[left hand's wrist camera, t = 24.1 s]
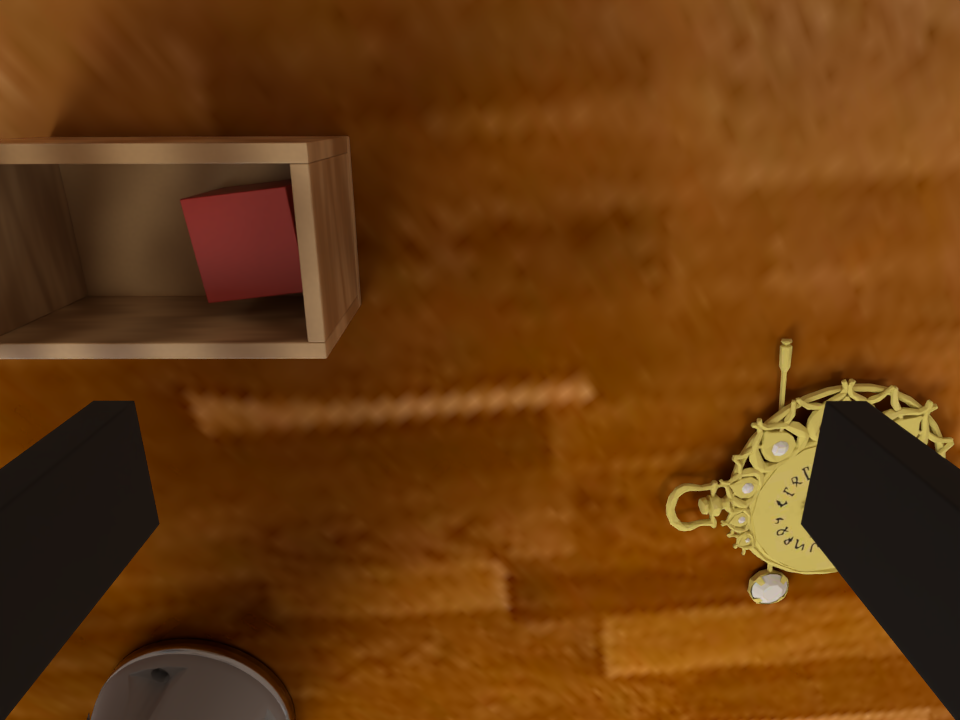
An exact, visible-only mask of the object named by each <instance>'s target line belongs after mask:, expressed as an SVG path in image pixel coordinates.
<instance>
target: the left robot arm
mask: <svg viewBox="0 0 960 720" xmlns="http://www.w3.org/2000/svg"><path fill="white" fill-rule="evenodd" d="M158 525H159V520H158V515H157V510H156V505H155V500H154V495H153V491H152V486H151V481H150V476H149V471H148V466H147V461H146V456H145V452H144V447H143V442H142V437H141V432H140V427H139V422H138V417H137V412H136V408H135V403H134V401H93V402H91V403H90V404H89V405H87V406H86V407H85V408H83V409H82V410H81V411H79V412H78V413H76V414H75V415H74V416H72V417H71V418H70V419H68V420H67V421H65V422H64V423H63V424H61V425H60V426H59V427H57V428H56V429H55V430H53V431H52V432H50V433H49V434H48V435H46V436H45V437H44V438H42V439H41V440H39V441H38V442H37V443H35V444H34V445H33V446H31V447H30V448H29V449H27V450H26V451H24V452H23V453H22V454H20V455H19V456H18V457H16V458H15V459H13V460H12V461H11V462H9V463H8V464H7V465H5V466H4V467H2V468H1V469H0V720H5V719H6V717H7V716H8V715H9V713H10V712H11V711H12V710H13V708H14V707H15V706H16V705H17V703H18V702H19V701H20V700H21V698H22V697H23V696H24V695H25V693H26V692H27V691H28V689H29V688H30V687H31V686H32V684H33V683H34V682H35V681H36V679H37V678H38V677H39V676H40V674H41V673H42V672H43V671H44V669H45V668H46V667H47V665H48V664H49V663H50V662H51V660H52V659H53V658H54V657H55V655H56V654H57V653H58V652H59V650H60V649H61V648H62V646H63V645H64V644H65V643H66V641H67V640H68V639H69V638H70V636H71V635H72V634H73V633H74V631H75V630H76V629H77V628H78V626H79V625H80V624H81V622H82V621H83V620H84V619H85V617H86V616H87V615H88V614H89V612H90V611H91V610H92V609H93V607H94V606H95V605H96V604H97V602H98V601H99V600H100V598H101V597H102V596H103V595H104V593H105V592H106V591H107V590H108V588H109V587H110V586H111V585H112V583H113V582H114V581H115V580H116V578H117V577H118V576H119V574H120V573H121V572H122V571H123V569H124V568H125V567H126V566H127V564H128V563H129V562H130V561H131V559H132V558H133V557H134V555H135V554H136V553H137V552H138V550H139V549H140V548H141V547H142V545H143V544H144V543H145V542H146V540H147V539H148V538H149V537H150V535H151V534H152V533H153V531H154V530H155V529H156V528H157V526H158ZM801 525H802V526H803V528H804V529H805V530H806V531H807V533H808V534H809V535H810V537H811V538H812V539H813V540H814V542H815V543H816V544H817V545H818V547H819V548H820V549H821V550H822V552H823V553H824V554H825V555H826V557H827V558H828V559H829V561H830V562H831V563H832V564H833V566H834V567H835V568H836V569H837V571H838V572H839V573H840V574H841V576H842V577H843V578H844V580H845V581H846V582H847V583H848V585H849V586H850V587H851V588H852V590H853V591H854V592H855V593H856V595H857V596H858V597H859V598H860V600H861V601H862V602H863V604H864V605H865V606H866V607H867V609H868V610H869V611H870V612H871V614H872V615H873V616H874V617H875V619H876V620H877V621H878V622H879V624H880V625H881V626H882V628H883V629H884V630H885V631H886V633H887V634H888V635H889V636H890V638H891V639H892V640H893V641H894V643H895V644H896V645H897V646H898V648H899V649H900V650H901V652H902V653H903V654H904V655H905V657H906V658H907V659H908V660H909V662H910V663H911V664H912V665H913V667H914V668H915V669H916V671H917V672H918V673H919V674H920V676H921V677H922V678H923V679H924V681H925V682H926V683H927V684H928V686H929V687H930V688H931V689H932V691H933V692H934V693H935V695H936V696H937V697H938V698H939V700H940V701H941V702H942V703H943V705H944V706H945V707H946V708H947V710H948V711H949V712H950V713H951V715H952V716H953V717H954V719H955V720H960V469H959V468H958V467H956V466H955V465H953V464H952V463H951V462H949V461H948V460H947V459H945V458H944V457H942V456H941V455H940V454H938V453H937V452H936V451H934V450H933V449H931V448H930V447H929V446H927V445H926V444H925V443H923V442H922V441H921V440H919V439H918V438H916V437H915V436H914V435H912V434H911V433H910V432H908V431H907V430H905V429H904V428H903V427H901V426H900V425H899V424H897V423H896V422H895V421H893V420H892V419H890V418H889V417H888V416H886V415H885V414H884V413H882V412H881V411H879V410H878V409H877V408H875V407H874V406H873V405H871V404H870V403H868V402H867V401H826V403H825V408H824V412H823V417H822V422H821V427H820V432H819V437H818V442H817V447H816V452H815V456H814V461H813V466H812V471H811V476H810V481H809V486H808V491H807V495H806V500H805V505H804V510H803V515H802V520H801ZM87 720H90V718H89V714H88V718H87ZM91 720H295V712H294V707H293V703H292V700H291V698H290V696H289V694H288V692H287V690H286V688H285V687H284V685H283V684H282V682H281V681H280V680H279V679H278V678H277V676H276V675H275V674H274V673H273V672H272V671H271V670H270V669H268V668H267V667H266V666H265V665H263V664H262V663H261V662H259V661H258V660H256V659H255V658H253V657H251V656H250V655H248V654H246V653H244V652H242V651H240V650H238V649H235V648H232V647H230V646H227V645H224V644H220V643H216V642H212V641H206V640H200V639H171V640H165V641H160V642H156V643H152V644H149V645H146V646H144V647H142V648H140V649H138V650H136V651H134V652H132V653H131V654H129V655H128V656H127V657H125V658H124V659H123V660H122V661H121V662H120V663H119V664H118V665H117V667H116V668H115V669H114V671H113V672H112V674H111V675H110V677H109V678H108V680H107V681H106V683H105V684H104V686H103V688H102V689H101V691H100V694H99V696H98V699H97V701H96V703H95V706H94V710H93V713H92V717H91Z"/></svg>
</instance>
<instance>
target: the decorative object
mask: <svg viewBox="0 0 960 720" xmlns="http://www.w3.org/2000/svg"><path fill="white" fill-rule="evenodd" d="M781 342H782V343H783V344H782V345H780V357H779V367H780V369H781V385H780V399H779V411H778V412H777V413H775V414H774V415H773V416H772V417H770V418H769V419H768V420H766V421H765V422H764V423H762V419H761V418H758V419H757V423H752V424H751V427H753V428H756V429H757V431H756V432H755V433H754V434H753V435H752V436H751V437H750V439H749V440H748V442H747V443H746V445H745V447H744V448H743V450H742V451H741V453H740V454H739V455H733V457H732V460H733V461H734V462H735V463H736V464H735V466H734V469H733V471H732V474H731V479H730V480H729V481H723V480H722V479H721V480H719V481H720V483H719V484H718V483H717V481H716V480H712V482H711V483H709V484H704V485H696V484H691V483H686V484H681V485H679V486H678V487H676V488H675V489H674V490H673V492H672V493H671V494H670V495H669V497H668V501H667V504H666V515H667V517H668V519H669V522H670V524H671V525H672V526H674V527H675V528H677V529H678V530H680V531H689V530H693V529H695V528H697V527H699V526H711V527H713V528H715V527H716V523H717V521H716V519H715V517H714V516H719V514H720V512H721V510H722V509H725V510H726V511H727V512H729V515H728V517H727V519H726V520H725V521H723V520H722V521H721V522H722V524H721V525H722V526H725V525H727V526H728V527H729V528H730V529H731V531H730V532H729V533H728V534H727V536H728V537H736V538H737V540H736V544H732V545H733V547H734V548H735V549H736V548H737V547H740V548H742V550H743V551H742V555H744V554H745V552H746V550H747V549H749V550H750V551H751V552H752V553H753V554H755V555H756V556H757V557H759V558H760V559H762V560H763V561H765V562H767V563H768V566H767V569H765V570H761V571H759V572H758V573H756V574H755V575H754V576H753V577H751V578H750V580H749V586H748V593H749V594H750V596H751V598H752V600H753V601H755V602H756V603H759V604H771V603H775V602H779V601H780V600H782V599H783V598H784V597H785V596H786V594H787V591H788V579H787V577H786V576H785V575H784V574H783V573H782V572H779V571H776V570H773V569H772V566H774V567H777V568H780V569H782V570H785V571H788V572H795V573H801V574H825V573H832V572H838V571H837V569H836V568H835V567H834V566H833V564H832V563H831V562H830V561H829V559H828V558H827V557H826V555H825V554H824V553H823V552H822V550H821V549H820V548H819V547H818V545H817V544H816V543H815V542H814V540H813V539H812V538H811V537H810V535H809V534H808V533H807V531H806V530H805V529H804V528H803V526H802V525H801V520H802V515H803V510H804V505H805V500H806V495H807V491H808V486H809V481H810V476H811V471H812V466H813V461H814V456H815V452H816V447H817V442H818V437H819V432H820V430H819V428H820V427H821V422H822V417H823V412H824V408H825V403H826V401H852V400H851V399H850V398H849V396H850V397H851V398H853V399H854V400H856V401H867V402H868V403H870V404H871V405H873V403H876V402H879V401H881V400H882V399H883V398H884V397H886V396H887V395H890V396H891V405H892V407H893V409H888V410H886V411H883V412H882V413H884V414H885V415H886V416H888V417H889V418H890V419H892V420H893V421H895V422H896V423H897V424H899V425H900V426H901V427H903V428H904V429H905V430H907V431H908V432H910V433H911V434H912V435H914V436H915V437H917V435H918V434H919V435H918V437H917V438H918V439H919V440H921V441H922V442H923V443H925V444H926V445H927V443H928V439H929V440H931V441H933V442H934V443H935V450H936V452H937V453H938V454H940V455H941V456H942V457H944V458H945V459H946V454H945V452H946V451H947V450H948V449H949V448H951V447H952V446H953V445H954V442H953V438H951V437H946V438H943V437H942V434H941V432H940V430H939V427H938V425H937V423H936V422H935V421H934V419H933V418H932V417H931V415H930V413H931V412H932V411H934V410H936V409H938V407H937V404H933V402H932V401H931V400H928V401H927V402H926V404H925V405H924V407H923V406H922V405H920V404H919V403H918V402H917V401H915V400H914V399H913V398H912V397H910V396H908V395H906V394H904V393H902V392H899V391H898V387H896V386H892V385H890V386H889V387H885V386H880V385H875V384H855V382H856V381H855V380H854V379H849V381H848V383H847V381H846V379H844V380H842V381H841V382H842V385H839V386H833V387H827V388H824V389H821V390H818V391H816V392H813V393H810V394H807V395H804V396H803V397H801V398H800V397H799V398H796V400H792V402H791V403H790V404H788V405H786V406H785V407H784V402H785V389H786V375H787V371H788V369H789V368H790V364H791V355H792V345H790V343H792V339H782V340H781ZM855 392H874V393H880V394H877V395H874V396H871V397H869V398H866V397H864V396H862V395H859V394H857V393H855ZM833 394H836V395H835V396H833V397H831V398H830V399H828V400H826V401H825V402H824V403H822V404H821V403H809V402H812V401H815V400H817V399H820V398H823V397H826V396H828V395H833ZM846 394H847V395H846ZM898 400H900V401H902V402H904V403H905V404H907V405H908V406H909V407H911V408H905V407H902V408H901V406H900V404H899V401H898ZM801 406H803V407H804V408H806V409H807V410H814V411H812V413H811V415H810V416H809V418H808V420H807V423H806V427H804V426H803V425H802V424H800V423H799V422H795V421H791V420H792V419H793V418H794V416H795V412H796V409H798V408H799V407H801ZM873 406H874V405H873ZM874 407H875V406H874ZM786 415H787V416H786ZM904 415H907V416H904ZM785 416H786V417H785ZM784 417H785V418H784ZM783 418H784V421H783ZM920 422H921V430H919V423H920ZM774 429H777V430H774ZM784 429H786V430H788V431H790V432H791V433H793V434H795V435H796V436H798V437H797V441H796V442H795V440H794V437H793V436H792V434H790V433H788V432H787V431H785V430H784ZM929 429H930V431H931V433H930V432H929ZM809 437H810V438H809ZM760 441H761V443H760ZM944 443H947V444H946V445H945V446H944ZM759 448H760V450H761V453H762V455H763V457H764V459H766V460H768V461H770V462H764V461H763V459H762V456H761V454H760V452H759ZM748 456H749V460H750V463H751V464H752V466H753V467H751V468H745V469H743V467H744V464H745V462H746V459H747V458H748ZM753 476H755V477H756V478H755V477H753ZM718 487H724V488H725V489H726V494H727V495H726V494H725V495H724V496H723V497H722V498H720V497H719V496H718V495H716V494H715V493H716V491H717V489H718ZM703 490H711V495H707V496H706V497H703V498H700V499H699V501H698V506H699V508H700V511H701V513H702V514H708V513H709V515H710V517H709V519H702V520H696V521H692V522H688V523H687V522H681V521H680V520H679V519H678V518H677V517H676V513H675V506H676V503H677V500H678V497H680V496H681V495H682V494H683V493H685V492H688V491H703ZM736 496H738V497H739V498H745V499H739V498H737V497H736ZM731 524H732V525H733V526H732V525H731ZM734 531H735V532H736V533H737V534H738V535H737V534H734ZM745 549H746V550H745Z"/></svg>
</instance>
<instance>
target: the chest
mask: <svg viewBox="0 0 960 720" xmlns="http://www.w3.org/2000/svg"><path fill="white" fill-rule="evenodd" d="M288 179H291V183H292V192H293V202H294V211H295V221H296V231H297V240H298V250H299V260H300V269H301V279H302V289H303V292H302V293H293V294H285V295H276V296H267V297H259V298H250V299H241V300H233V301H224V302H215V303H208V300H207V297H206V293H205V289H204V286H203V282H202V279H201V275H200V271H199V268H198V264H197V261H196V257H195V253H194V250H193V246H192V242H191V239H190V235H189V232H188V228H187V224H186V221H185V217H184V214H183V210H182V206H181V203H180V199H183V198H186V197H190V196H194V195H197V194H201V193H204V192H208V191H212V190H215V189H219V188H224V187H232V186H240V185H248V184H256V183H264V182H272V181H280V180H288ZM360 306H361V294H360V280H359V266H358V252H357V238H356V224H355V210H354V196H353V182H352V168H351V154H350V140H349V136H195V137H38V138H18V139H0V359H326V358H327V357H328V355H329V354H330V352H331V351H332V349H333V348H334V346H335V345H336V343H337V341H338V340H339V338H340V337H341V335H342V334H343V332H344V331H345V329H346V327H347V326H348V324H349V323H350V321H351V320H352V318H353V317H354V315H355V314H356V312H357V310H358V309H359V307H360Z"/></svg>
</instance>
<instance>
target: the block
mask: <svg viewBox="0 0 960 720" xmlns="http://www.w3.org/2000/svg"><path fill="white" fill-rule="evenodd" d="M180 203H181V206H182V210H183V214H184V217H185V221H186V224H187V228H188V232H189V235H190V239H191V242H192V246H193V250H194V253H195V257H196V261H197V264H198V268H199V271H200V275H201V279H202V282H203V286H204V289H205V293H206V297H207V300H208V303H215V302H224V301H233V300H241V299H250V298H259V297H267V296H276V295H285V294H293V293H302V292H303V289H302V279H301V269H300V260H299V250H298V240H297V231H296V221H295V211H294V202H293V192H292V183H291V179H288V180H280V181H272V182H264V183H256V184H248V185H240V186H232V187H224V188H219V189H215V190H212V191H208V192H204V193H201V194H197V195H194V196H190V197H186V198H183V199H180Z"/></svg>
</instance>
